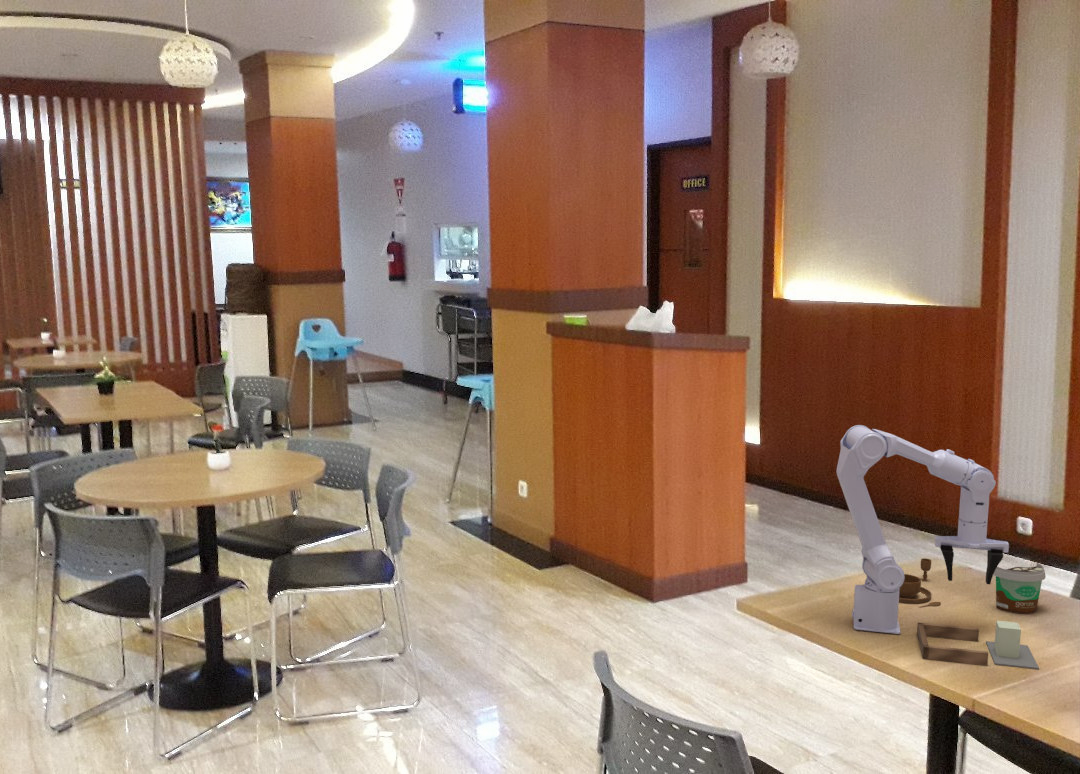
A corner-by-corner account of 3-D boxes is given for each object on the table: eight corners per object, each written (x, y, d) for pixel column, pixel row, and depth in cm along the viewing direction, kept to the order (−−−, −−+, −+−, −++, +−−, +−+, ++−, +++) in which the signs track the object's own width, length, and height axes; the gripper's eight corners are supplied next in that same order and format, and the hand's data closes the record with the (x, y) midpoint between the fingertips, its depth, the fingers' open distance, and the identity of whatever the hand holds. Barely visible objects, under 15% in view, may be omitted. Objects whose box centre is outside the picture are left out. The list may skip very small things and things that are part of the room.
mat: (994, 664, 203) (995, 663, 203) (985, 642, 215) (986, 641, 214) (1039, 669, 201) (1039, 667, 201) (1027, 646, 212) (1027, 645, 212)
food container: (1009, 618, 229) (1012, 574, 228) (990, 608, 235) (993, 566, 234) (1055, 613, 232) (1059, 570, 231) (1035, 604, 238) (1039, 562, 237)
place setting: (858, 588, 249) (860, 565, 248) (923, 579, 257) (924, 557, 256) (910, 612, 233) (911, 587, 232) (977, 602, 241) (979, 578, 240)
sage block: (997, 656, 207) (999, 627, 206) (994, 648, 210) (996, 620, 210) (1018, 658, 206) (1020, 629, 205) (1015, 650, 209) (1017, 622, 209)
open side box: (923, 658, 206) (923, 646, 205) (917, 633, 219) (917, 622, 219) (987, 665, 202) (988, 653, 202) (977, 639, 216) (978, 628, 216)
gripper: (938, 521, 218) (934, 583, 220) (1013, 527, 214) (1008, 590, 216) (935, 513, 225) (931, 573, 226) (1007, 519, 221) (1002, 580, 223)
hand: (968, 581), depth 222 cm, fingers open, 7 cm apart
